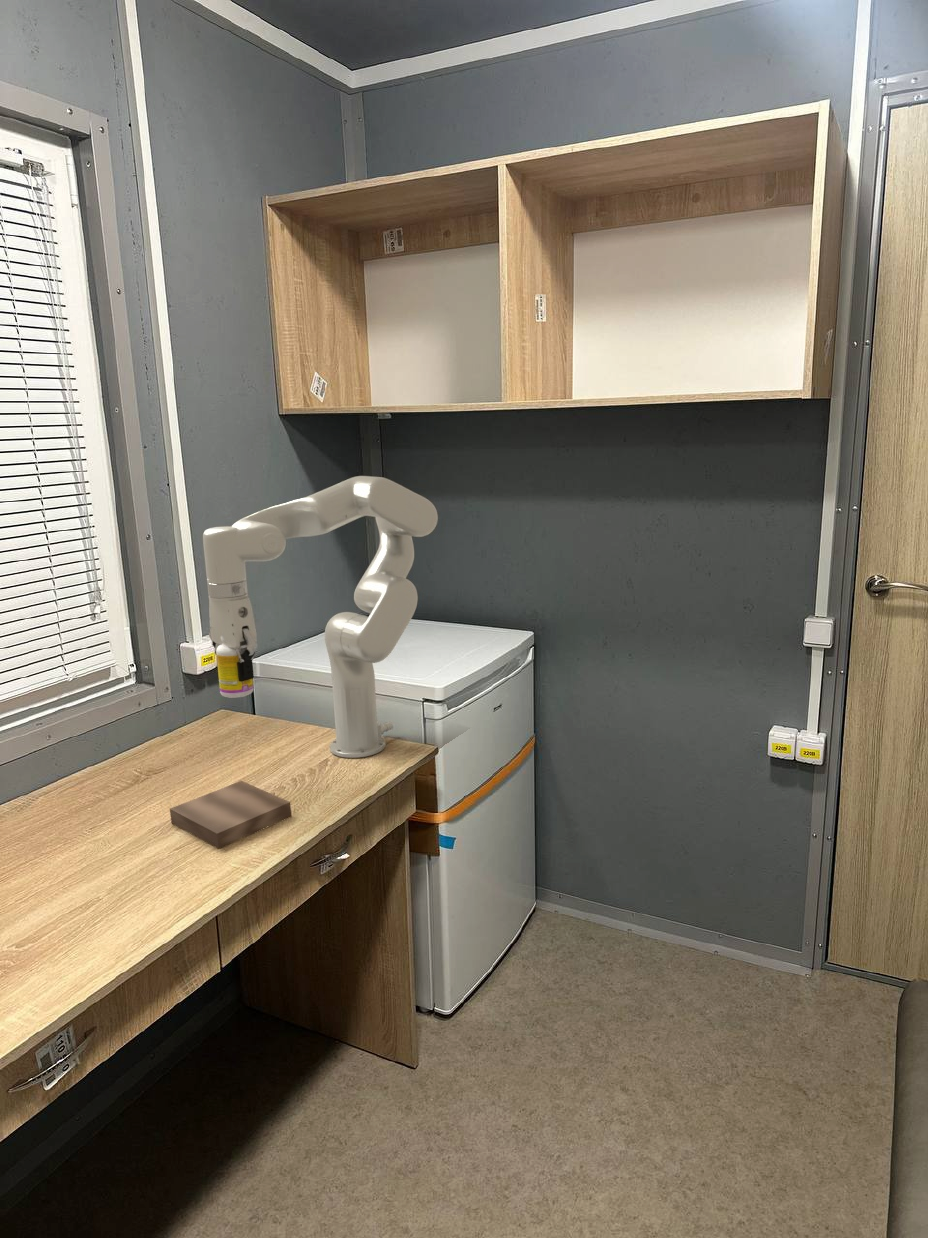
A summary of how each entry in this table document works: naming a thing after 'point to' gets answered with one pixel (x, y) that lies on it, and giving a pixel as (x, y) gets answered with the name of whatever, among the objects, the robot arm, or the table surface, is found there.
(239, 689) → the supplement bottle
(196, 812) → the block
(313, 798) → the table surface
